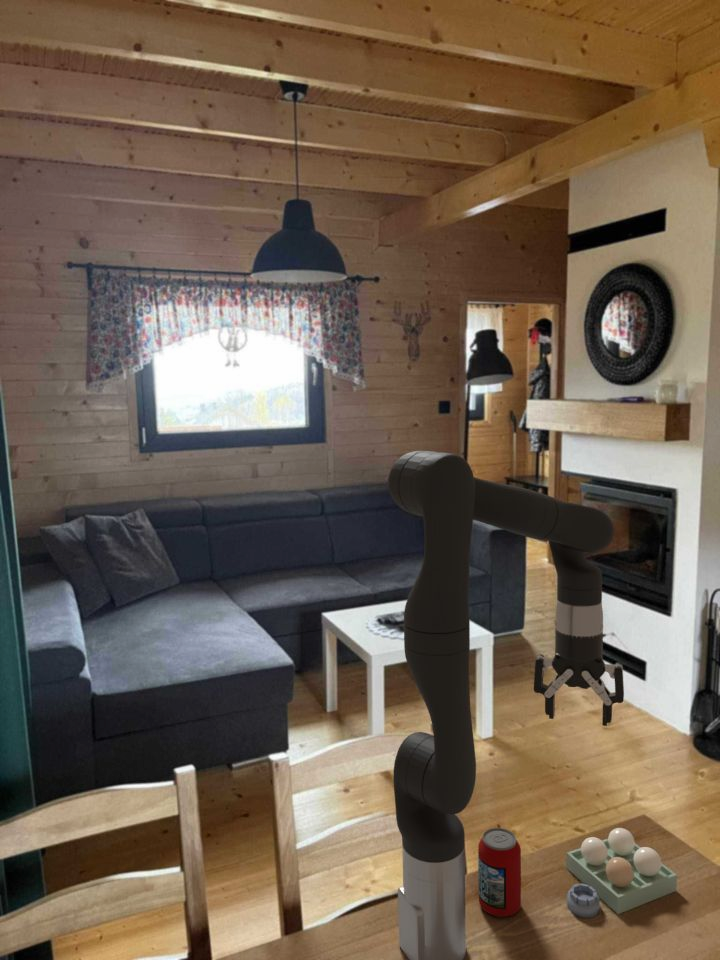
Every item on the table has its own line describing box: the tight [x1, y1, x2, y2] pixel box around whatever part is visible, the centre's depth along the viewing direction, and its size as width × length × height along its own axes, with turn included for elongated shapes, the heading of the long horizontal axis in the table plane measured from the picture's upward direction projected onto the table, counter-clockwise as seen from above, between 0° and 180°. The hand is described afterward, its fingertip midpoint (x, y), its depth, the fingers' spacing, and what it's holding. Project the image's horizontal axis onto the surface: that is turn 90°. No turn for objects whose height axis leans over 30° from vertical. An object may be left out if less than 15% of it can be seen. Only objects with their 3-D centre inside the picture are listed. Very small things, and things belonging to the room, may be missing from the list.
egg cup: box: [566, 882, 601, 919], centre depth 119 cm, size 5×5×3 cm
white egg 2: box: [607, 827, 636, 856], centre depth 129 cm, size 4×4×4 cm
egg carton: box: [565, 838, 678, 915], centre depth 125 cm, size 12×12×3 cm
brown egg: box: [605, 857, 634, 887], centre depth 121 cm, size 4×4×4 cm
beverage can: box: [477, 827, 522, 918], centre depth 119 cm, size 7×7×12 cm
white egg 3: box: [633, 846, 663, 877], centre depth 123 cm, size 4×4×4 cm
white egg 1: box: [580, 836, 608, 866], centre depth 126 cm, size 4×4×4 cm
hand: (577, 720), depth 123 cm, fingers open, 8 cm apart
